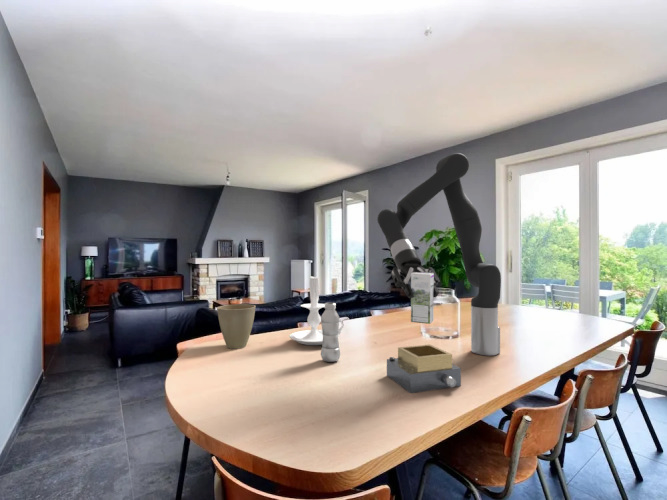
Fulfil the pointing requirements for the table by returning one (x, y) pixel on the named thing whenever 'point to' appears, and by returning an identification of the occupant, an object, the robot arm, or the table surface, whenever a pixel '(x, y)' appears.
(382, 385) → the table surface
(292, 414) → the table surface
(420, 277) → the syrup box
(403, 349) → the grey square holder
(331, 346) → the plastic bottle
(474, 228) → the robot arm
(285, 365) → the table surface
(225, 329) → the plant pot
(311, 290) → the candlestick
